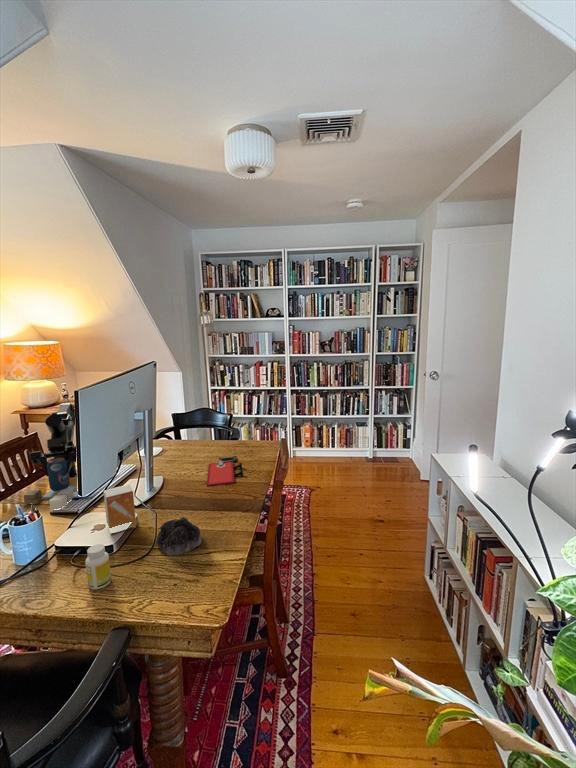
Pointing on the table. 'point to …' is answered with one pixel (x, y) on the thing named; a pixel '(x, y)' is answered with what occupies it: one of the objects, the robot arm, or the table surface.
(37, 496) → the walnut block
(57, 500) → the off-white block
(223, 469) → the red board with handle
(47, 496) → the slate tile
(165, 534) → the crystal cluster
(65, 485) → the soda can
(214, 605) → the table surface
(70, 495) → the grey block
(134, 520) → the small box
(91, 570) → the supplement bottle
